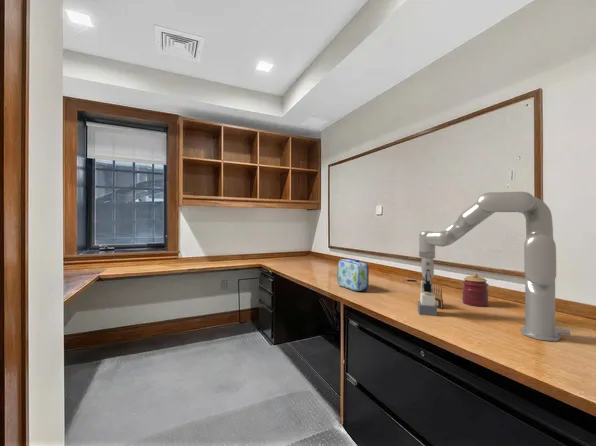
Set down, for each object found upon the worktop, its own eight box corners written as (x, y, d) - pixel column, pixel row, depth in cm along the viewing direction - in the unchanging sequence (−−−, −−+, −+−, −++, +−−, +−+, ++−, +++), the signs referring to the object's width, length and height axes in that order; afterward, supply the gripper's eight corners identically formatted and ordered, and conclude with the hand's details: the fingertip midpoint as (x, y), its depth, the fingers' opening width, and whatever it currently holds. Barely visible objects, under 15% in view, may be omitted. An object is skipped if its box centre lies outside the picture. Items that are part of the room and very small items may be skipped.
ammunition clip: (443, 308, 154) (443, 286, 154) (440, 309, 153) (440, 287, 153) (429, 303, 164) (429, 282, 164) (427, 303, 164) (427, 282, 164)
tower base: (434, 312, 149) (434, 302, 149) (436, 316, 142) (436, 306, 142) (417, 310, 151) (417, 301, 151) (419, 315, 144) (419, 305, 144)
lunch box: (371, 291, 191) (371, 260, 191) (358, 293, 186) (358, 261, 186) (347, 284, 215) (347, 256, 215) (335, 285, 210) (336, 257, 210)
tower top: (432, 302, 148) (432, 293, 148) (435, 306, 143) (435, 296, 143) (420, 301, 150) (420, 292, 150) (422, 305, 144) (422, 295, 144)
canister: (473, 300, 172) (473, 271, 172) (494, 306, 160) (494, 274, 160) (456, 301, 168) (457, 272, 168) (476, 307, 156) (476, 275, 156)
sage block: (431, 290, 148) (431, 280, 148) (432, 292, 143) (432, 282, 143) (420, 289, 150) (420, 280, 150) (421, 291, 145) (422, 282, 145)
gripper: (437, 257, 137) (437, 294, 137) (432, 253, 153) (432, 287, 153) (420, 256, 139) (420, 293, 139) (417, 253, 156) (417, 286, 156)
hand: (426, 289), depth 146 cm, fingers closed on sage block, 5 cm apart
